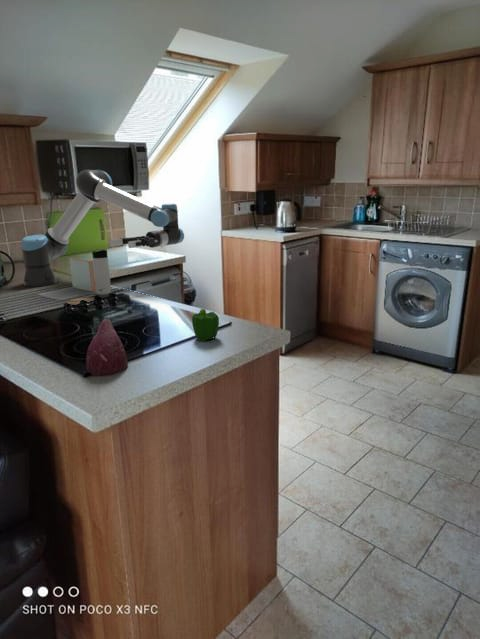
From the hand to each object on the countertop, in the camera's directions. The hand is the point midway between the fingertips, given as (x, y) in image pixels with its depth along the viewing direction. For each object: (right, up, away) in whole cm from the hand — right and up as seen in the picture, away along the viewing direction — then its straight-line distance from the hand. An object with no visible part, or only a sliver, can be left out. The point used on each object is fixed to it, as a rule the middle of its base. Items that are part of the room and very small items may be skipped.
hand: (119, 244), depth 205 cm
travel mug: (-6, -23, -1) cm, 24 cm away
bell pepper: (+43, -39, -61) cm, 84 cm away
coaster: (-12, -27, -14) cm, 32 cm away
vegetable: (+18, -46, -83) cm, 97 cm away
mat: (-22, -22, +3) cm, 31 cm away
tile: (-18, -20, +8) cm, 28 cm away
